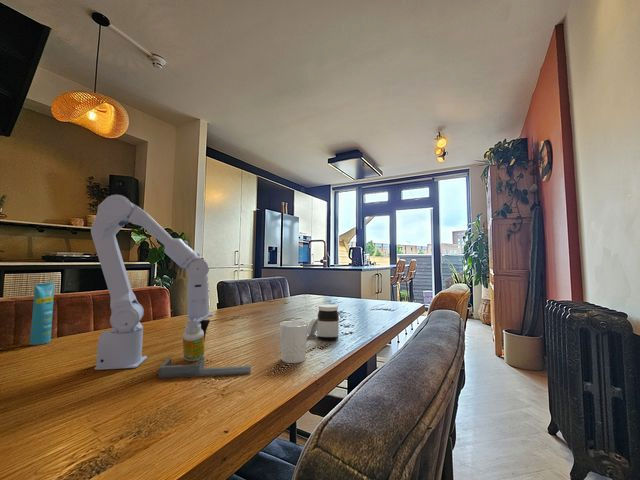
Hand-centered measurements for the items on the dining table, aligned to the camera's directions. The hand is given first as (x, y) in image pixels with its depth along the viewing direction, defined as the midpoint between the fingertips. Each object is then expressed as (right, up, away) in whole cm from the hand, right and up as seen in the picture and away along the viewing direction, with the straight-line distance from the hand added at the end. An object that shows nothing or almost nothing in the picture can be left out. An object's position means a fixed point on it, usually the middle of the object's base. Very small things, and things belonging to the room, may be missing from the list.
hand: (199, 346), depth 86 cm
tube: (-54, -2, +9) cm, 55 cm away
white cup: (+27, -3, -2) cm, 28 cm away
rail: (+7, -2, -11) cm, 13 cm away
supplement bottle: (0, -2, -2) cm, 3 cm away
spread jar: (+36, -5, +21) cm, 42 cm away
